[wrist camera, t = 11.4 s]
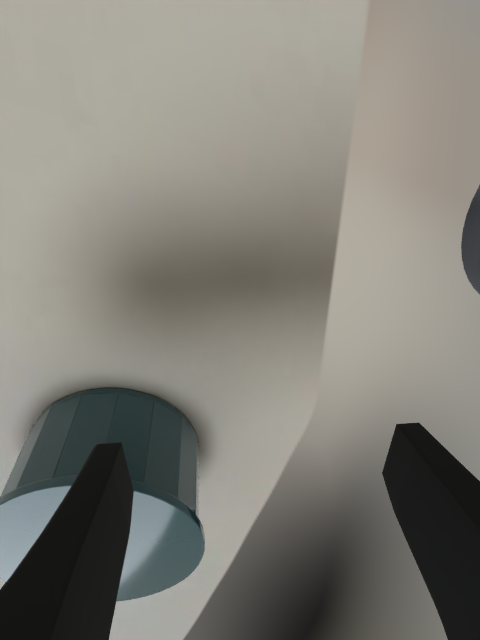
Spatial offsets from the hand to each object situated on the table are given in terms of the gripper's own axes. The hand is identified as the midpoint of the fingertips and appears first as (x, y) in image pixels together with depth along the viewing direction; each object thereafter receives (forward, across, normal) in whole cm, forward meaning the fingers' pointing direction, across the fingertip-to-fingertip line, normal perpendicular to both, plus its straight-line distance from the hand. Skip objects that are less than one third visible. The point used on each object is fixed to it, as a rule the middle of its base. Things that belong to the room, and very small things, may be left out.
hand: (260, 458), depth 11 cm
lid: (+4, +8, +12) cm, 14 cm away
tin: (+10, +8, +12) cm, 17 cm away
